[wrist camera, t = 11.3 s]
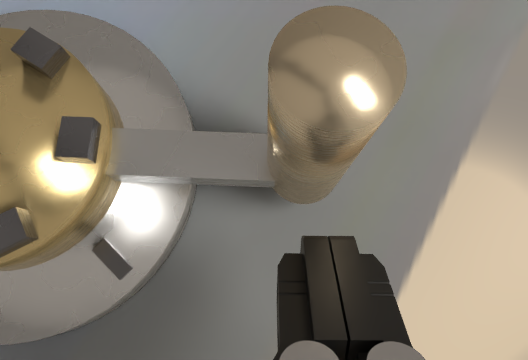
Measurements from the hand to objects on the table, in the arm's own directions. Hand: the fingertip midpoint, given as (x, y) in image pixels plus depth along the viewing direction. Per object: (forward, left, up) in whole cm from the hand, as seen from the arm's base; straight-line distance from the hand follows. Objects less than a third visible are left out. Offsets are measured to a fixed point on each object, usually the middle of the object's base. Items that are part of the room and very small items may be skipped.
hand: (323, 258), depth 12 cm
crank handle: (-9, +3, -5) cm, 11 cm away
